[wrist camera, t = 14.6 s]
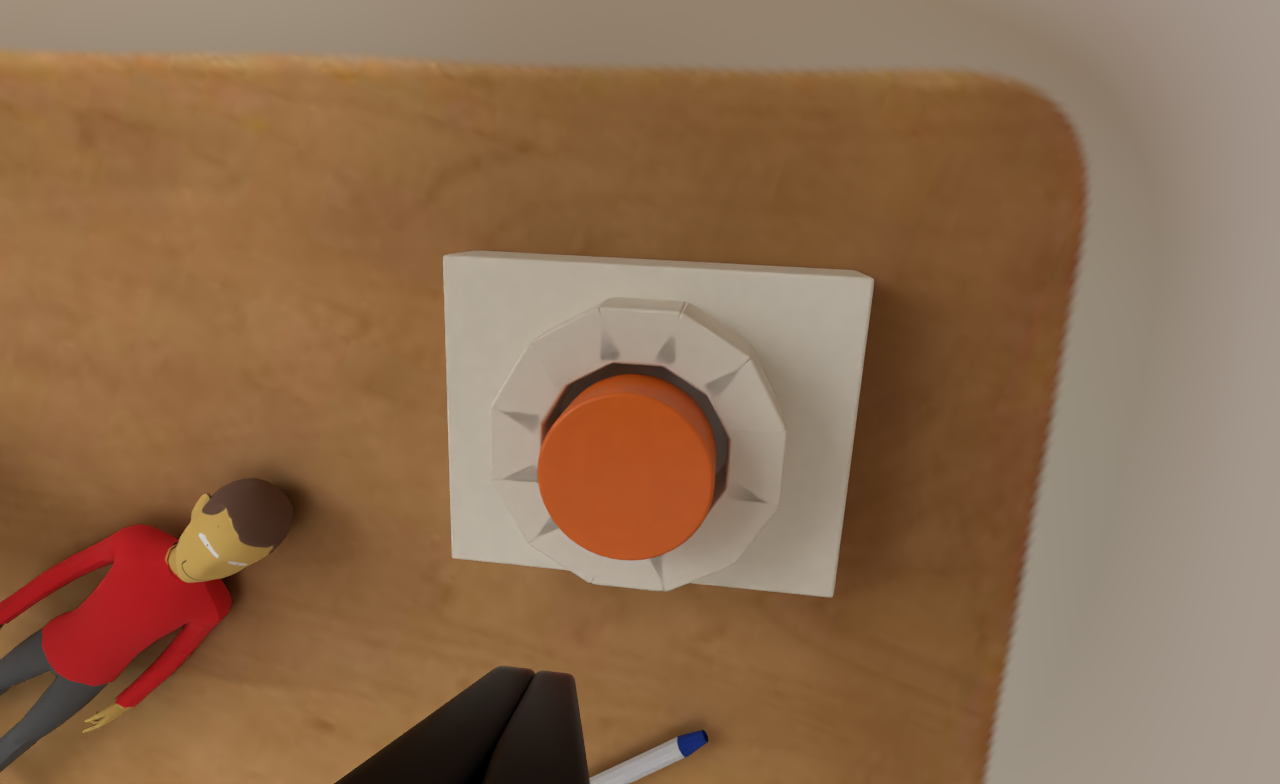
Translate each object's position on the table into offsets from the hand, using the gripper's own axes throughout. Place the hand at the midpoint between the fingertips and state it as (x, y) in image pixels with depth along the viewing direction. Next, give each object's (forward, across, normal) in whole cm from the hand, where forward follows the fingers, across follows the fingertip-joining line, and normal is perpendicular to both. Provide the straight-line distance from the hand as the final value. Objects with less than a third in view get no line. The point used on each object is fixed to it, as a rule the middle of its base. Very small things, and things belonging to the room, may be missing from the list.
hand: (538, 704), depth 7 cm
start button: (+8, 0, 0) cm, 8 cm away
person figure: (+12, +18, +9) cm, 23 cm away
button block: (+12, 0, 0) cm, 12 cm away
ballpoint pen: (+12, +2, +13) cm, 18 cm away
